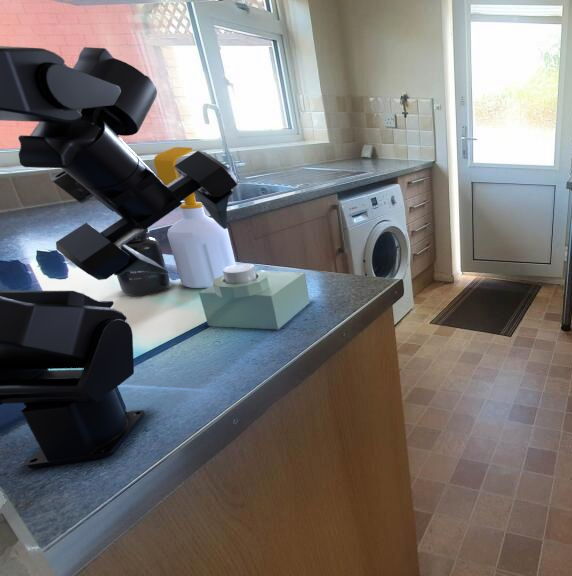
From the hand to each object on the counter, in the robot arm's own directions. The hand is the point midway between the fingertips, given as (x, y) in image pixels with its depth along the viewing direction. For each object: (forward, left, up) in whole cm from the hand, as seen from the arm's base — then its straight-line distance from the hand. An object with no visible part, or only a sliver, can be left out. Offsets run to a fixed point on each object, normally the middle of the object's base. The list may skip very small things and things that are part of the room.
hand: (195, 248), depth 57 cm
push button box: (+5, -5, -13) cm, 15 cm away
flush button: (+2, -4, -6) cm, 8 cm away
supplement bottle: (+20, +18, -13) cm, 30 cm away
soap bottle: (+23, +9, -13) cm, 28 cm away
